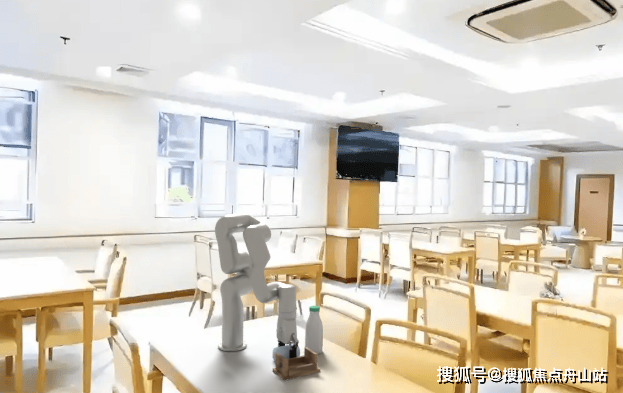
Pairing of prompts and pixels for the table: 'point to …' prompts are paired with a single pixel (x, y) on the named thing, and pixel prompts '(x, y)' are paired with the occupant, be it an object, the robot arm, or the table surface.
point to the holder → (296, 365)
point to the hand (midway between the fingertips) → (287, 354)
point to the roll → (284, 351)
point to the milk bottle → (314, 330)
